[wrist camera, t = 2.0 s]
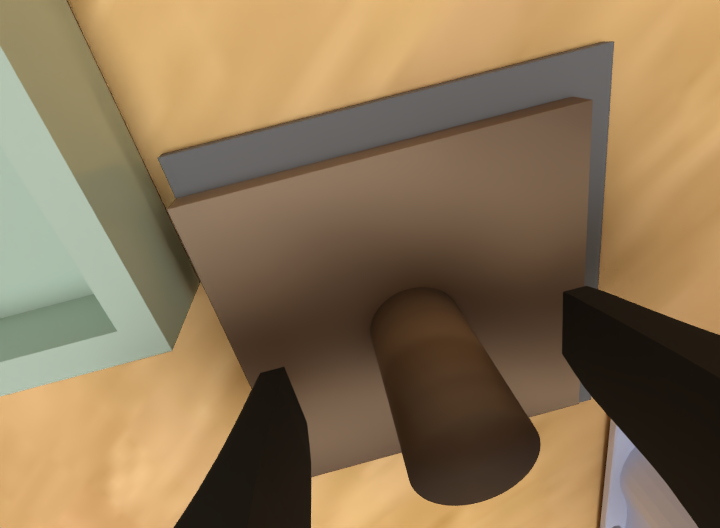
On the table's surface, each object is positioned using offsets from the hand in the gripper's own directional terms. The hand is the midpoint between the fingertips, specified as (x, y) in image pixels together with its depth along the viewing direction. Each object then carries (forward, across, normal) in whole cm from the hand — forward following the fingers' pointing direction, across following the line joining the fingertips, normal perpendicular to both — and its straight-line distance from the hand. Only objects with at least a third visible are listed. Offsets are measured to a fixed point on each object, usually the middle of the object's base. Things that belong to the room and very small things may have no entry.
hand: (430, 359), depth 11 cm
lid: (+2, 0, 0) cm, 2 cm away
